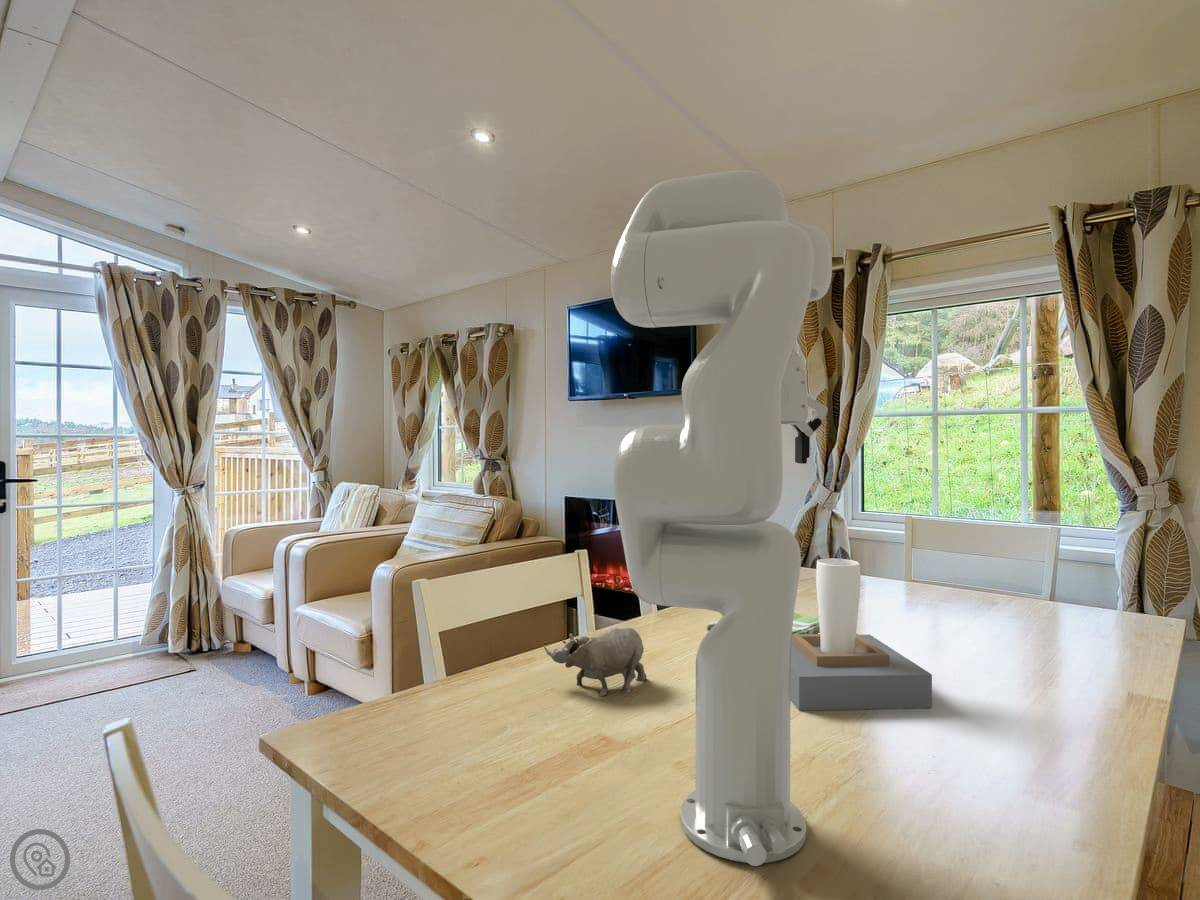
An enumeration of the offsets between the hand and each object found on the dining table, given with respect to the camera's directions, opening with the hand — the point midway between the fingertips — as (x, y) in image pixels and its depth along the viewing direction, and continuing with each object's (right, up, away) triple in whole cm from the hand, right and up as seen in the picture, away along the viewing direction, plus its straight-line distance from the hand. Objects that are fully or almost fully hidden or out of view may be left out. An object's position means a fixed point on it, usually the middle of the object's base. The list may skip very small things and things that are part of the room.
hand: (769, 463), depth 97 cm
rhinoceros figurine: (-25, -37, +8) cm, 45 cm away
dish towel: (+11, -37, +39) cm, 55 cm away
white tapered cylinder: (+14, -31, +9) cm, 35 cm away
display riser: (+14, -36, +9) cm, 40 cm away
